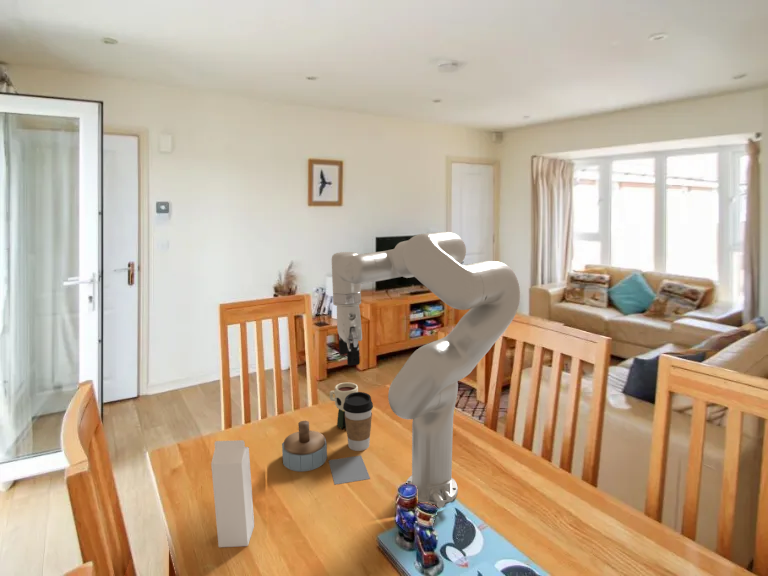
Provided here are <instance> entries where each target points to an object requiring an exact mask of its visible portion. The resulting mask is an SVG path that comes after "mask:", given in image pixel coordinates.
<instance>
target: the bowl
mask: <svg viewBox="0 0 768 576" xmlns="http://www.w3.org/2000/svg"><path fill="white" fill-rule="evenodd" d="M281 448H282V449H281V450H282V453H281V454H282V462H283V463H282V465H283V466H284V467H285V469H286V468H287V469H288V470H290V471H294V472H308V471H313V470H315V469H318V468H320V467H322V465H324V464H325V463H326V462H327V458H328V446H327V440H326V439H325V444H324V446H323V447H322V448H321V449H320V450H319V451H317V452H314V453H311V454H306V455H296V454H292V453H289V452H287V451H286V450H285V448H284V441H283V442H282V443H281Z"/></svg>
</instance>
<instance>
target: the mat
mask: <svg viewBox="0 0 768 576" xmlns="http://www.w3.org/2000/svg"><path fill="white" fill-rule="evenodd" d="M328 464H329V465H328V466H329V468H330V472H331V476H332V479H333V484H334V485H340V484H341V485H342V484H347V483H353V482H360V481H364V480H365V481H366V480H371V477H370V475H369V471H368V469H367V467H366V464H365V461H364V459H363V457H362V455H356V456H355V455H354V456H349V457H342V458H336V459H328Z"/></svg>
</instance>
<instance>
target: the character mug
mask: <svg viewBox="0 0 768 576" xmlns="http://www.w3.org/2000/svg"><path fill="white" fill-rule="evenodd" d="M355 392H359V387H358V384H356V383H354V382H340V383H338V384H336V385H335V386H334V390H330V391H329V400H330V401H331V402H334V405H335V407H336V408H337V409H338V412H337V419H336V420H337V422H336V426H337V427H338V428H339V429H343V427H344V428H345V430H346V422H345V410H344V409H343V405H344V403H345V398H346V396H348V395H349V394H351V393H355Z"/></svg>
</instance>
